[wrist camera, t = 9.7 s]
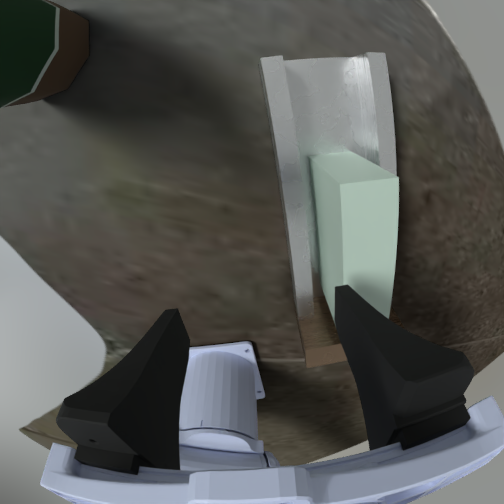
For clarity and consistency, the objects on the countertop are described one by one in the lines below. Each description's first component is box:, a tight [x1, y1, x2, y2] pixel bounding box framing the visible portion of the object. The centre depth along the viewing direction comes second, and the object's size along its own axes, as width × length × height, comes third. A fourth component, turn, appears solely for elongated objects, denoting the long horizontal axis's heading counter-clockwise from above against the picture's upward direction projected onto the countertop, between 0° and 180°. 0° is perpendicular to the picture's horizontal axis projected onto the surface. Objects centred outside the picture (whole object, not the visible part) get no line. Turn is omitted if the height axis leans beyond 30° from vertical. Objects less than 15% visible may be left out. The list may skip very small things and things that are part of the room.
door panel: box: [308, 151, 399, 326], centre depth 18 cm, size 10×3×7 cm, turn 10°
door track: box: [258, 52, 404, 368], centre depth 18 cm, size 20×7×6 cm, turn 10°
